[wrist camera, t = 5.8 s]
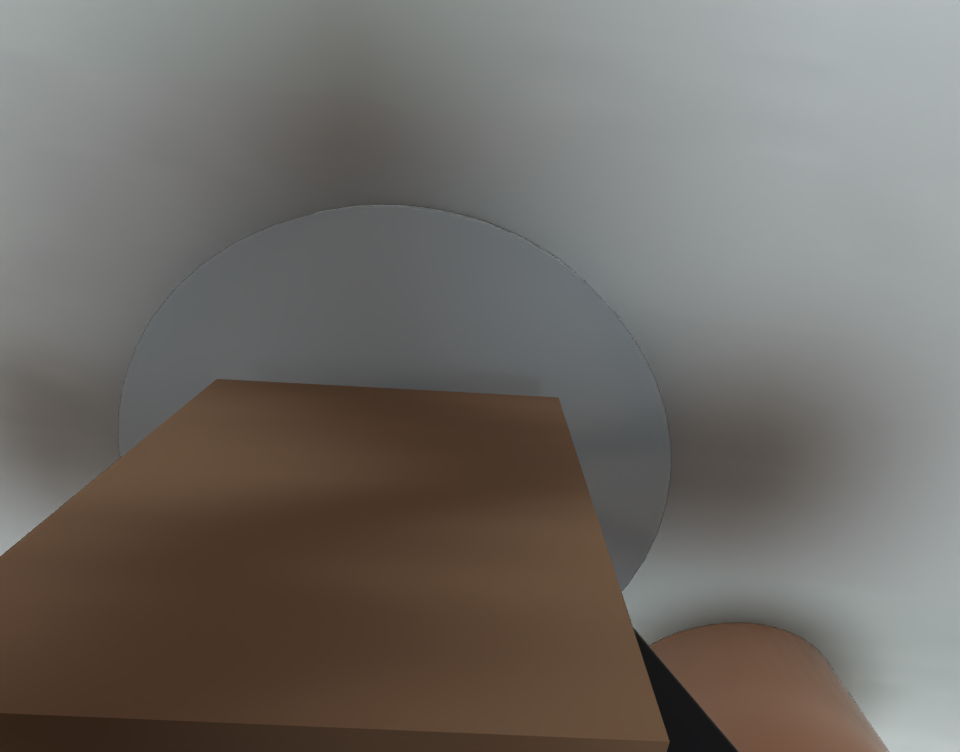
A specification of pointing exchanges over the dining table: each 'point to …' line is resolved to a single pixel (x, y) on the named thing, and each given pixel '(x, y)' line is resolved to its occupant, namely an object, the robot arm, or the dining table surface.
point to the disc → (417, 339)
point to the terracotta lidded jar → (767, 689)
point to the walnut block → (327, 586)
